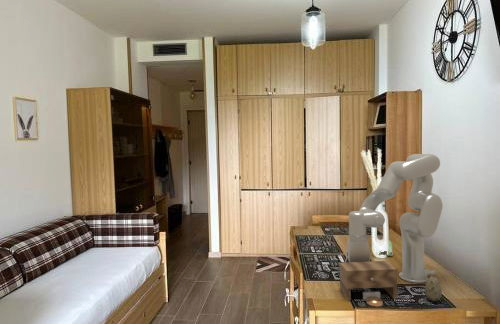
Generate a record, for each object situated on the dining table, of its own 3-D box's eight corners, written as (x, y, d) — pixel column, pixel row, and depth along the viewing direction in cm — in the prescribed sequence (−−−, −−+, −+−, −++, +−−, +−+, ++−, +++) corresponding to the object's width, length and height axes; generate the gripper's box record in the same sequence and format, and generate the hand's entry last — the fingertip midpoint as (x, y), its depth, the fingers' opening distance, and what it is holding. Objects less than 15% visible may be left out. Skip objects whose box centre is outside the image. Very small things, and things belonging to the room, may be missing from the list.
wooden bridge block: (386, 288, 143) (386, 260, 142) (398, 299, 132) (397, 269, 131) (340, 290, 142) (339, 262, 142) (347, 301, 132) (347, 271, 131)
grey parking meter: (363, 280, 152) (363, 255, 151) (380, 299, 132) (379, 270, 132) (349, 281, 152) (348, 256, 151) (363, 299, 132) (363, 271, 132)
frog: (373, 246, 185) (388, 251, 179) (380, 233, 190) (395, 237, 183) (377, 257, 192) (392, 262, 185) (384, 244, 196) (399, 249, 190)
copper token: (379, 300, 132) (379, 296, 132) (384, 307, 126) (384, 303, 126) (364, 300, 133) (364, 296, 132) (369, 307, 127) (369, 303, 126)
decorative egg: (435, 297, 133) (435, 273, 132) (445, 303, 127) (444, 279, 127) (422, 297, 133) (421, 274, 132) (430, 304, 127) (430, 279, 126)
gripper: (371, 235, 151) (372, 273, 152) (338, 236, 151) (339, 274, 152) (378, 239, 144) (379, 279, 144) (343, 240, 144) (344, 280, 144)
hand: (358, 276), depth 148 cm, fingers closed on grey parking meter
